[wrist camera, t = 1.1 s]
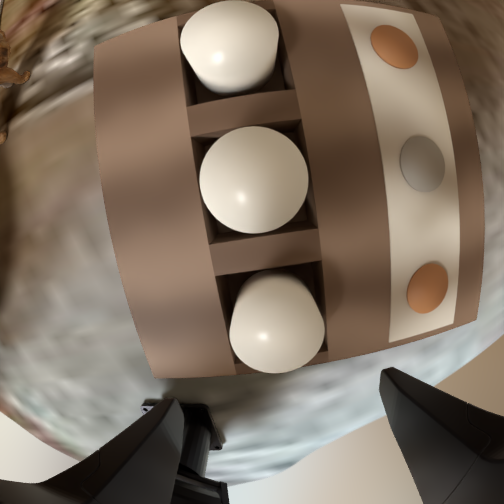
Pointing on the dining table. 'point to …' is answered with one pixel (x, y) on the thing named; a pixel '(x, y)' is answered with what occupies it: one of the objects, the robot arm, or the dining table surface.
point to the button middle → (253, 179)
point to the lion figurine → (8, 73)
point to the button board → (319, 183)
